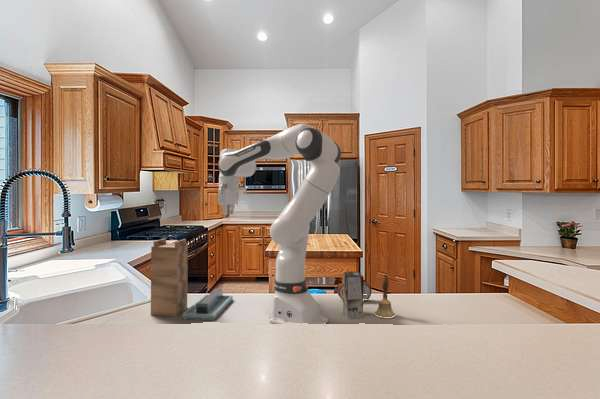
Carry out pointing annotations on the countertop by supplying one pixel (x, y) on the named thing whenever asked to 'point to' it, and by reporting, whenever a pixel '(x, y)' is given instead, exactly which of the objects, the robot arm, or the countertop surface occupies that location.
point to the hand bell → (385, 301)
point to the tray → (214, 311)
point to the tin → (365, 290)
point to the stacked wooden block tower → (169, 277)
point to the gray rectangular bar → (209, 301)
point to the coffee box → (353, 294)
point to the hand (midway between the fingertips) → (228, 214)
